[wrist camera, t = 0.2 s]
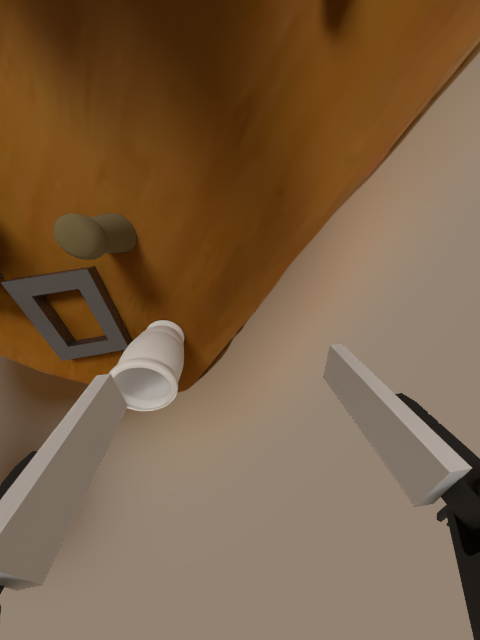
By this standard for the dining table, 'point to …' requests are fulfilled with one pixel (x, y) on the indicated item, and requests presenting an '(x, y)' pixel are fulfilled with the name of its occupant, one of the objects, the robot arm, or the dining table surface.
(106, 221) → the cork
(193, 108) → the dining table surface
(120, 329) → the grey rectangular frame
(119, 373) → the jar
